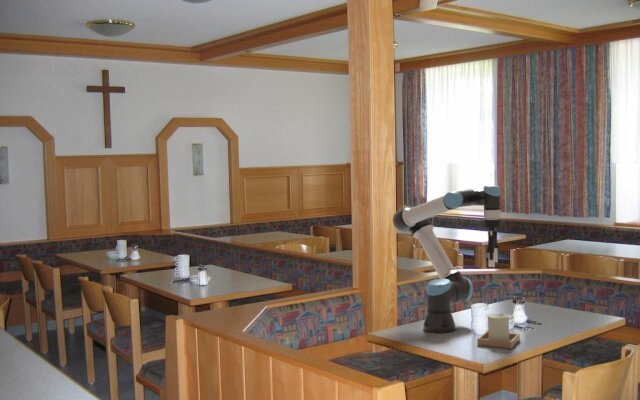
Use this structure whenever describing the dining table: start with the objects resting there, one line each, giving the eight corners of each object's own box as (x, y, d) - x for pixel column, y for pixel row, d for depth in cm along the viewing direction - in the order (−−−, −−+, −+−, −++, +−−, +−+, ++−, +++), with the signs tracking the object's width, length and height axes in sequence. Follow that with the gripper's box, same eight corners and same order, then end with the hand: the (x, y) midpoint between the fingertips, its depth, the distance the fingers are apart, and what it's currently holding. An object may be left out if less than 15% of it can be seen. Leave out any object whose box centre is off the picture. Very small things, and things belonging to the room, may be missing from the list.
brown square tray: (477, 345, 304) (477, 338, 304) (487, 337, 316) (487, 330, 316) (511, 349, 297) (511, 342, 296) (519, 340, 309) (519, 334, 309)
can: (513, 341, 307) (512, 314, 306) (503, 345, 300) (503, 318, 299) (494, 337, 313) (493, 311, 312) (484, 342, 306) (483, 315, 305)
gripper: (498, 221, 309) (499, 269, 311) (503, 216, 333) (503, 260, 334) (481, 221, 312) (481, 268, 313) (487, 216, 335) (487, 260, 336)
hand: (493, 264), depth 324 cm, fingers open, 13 cm apart
